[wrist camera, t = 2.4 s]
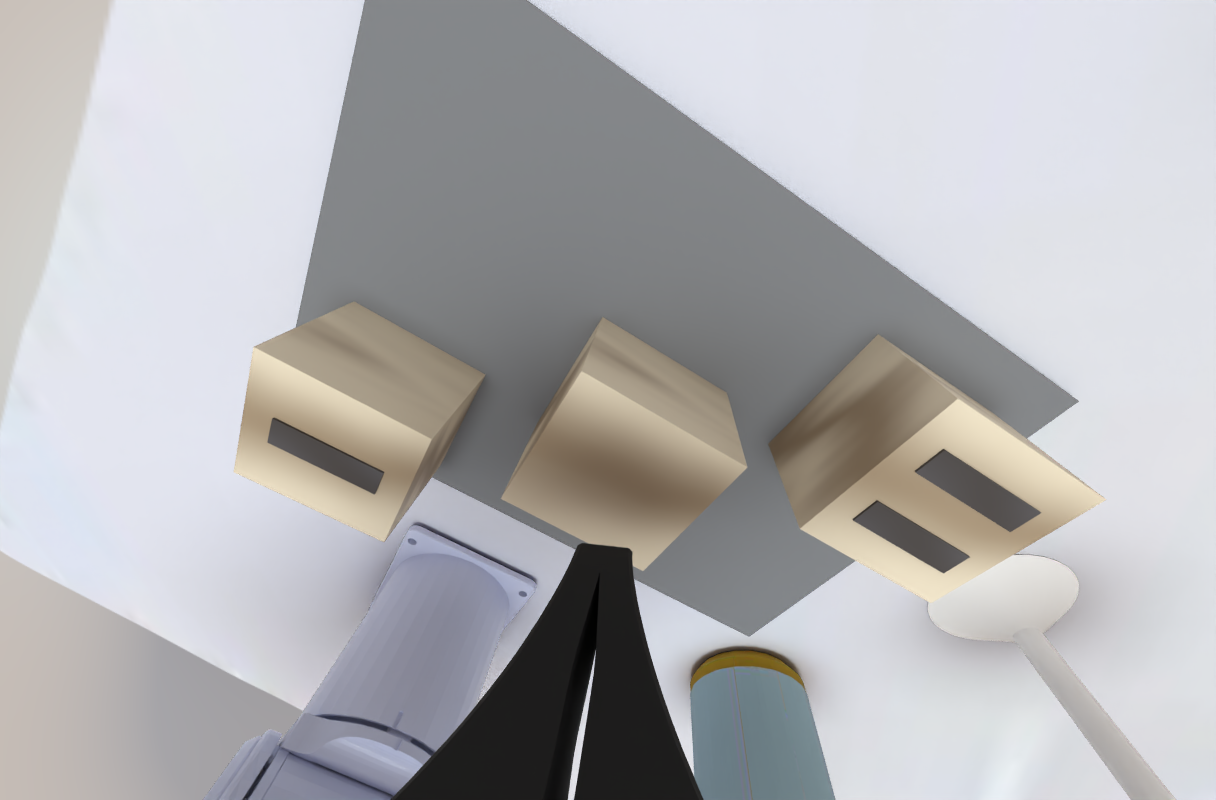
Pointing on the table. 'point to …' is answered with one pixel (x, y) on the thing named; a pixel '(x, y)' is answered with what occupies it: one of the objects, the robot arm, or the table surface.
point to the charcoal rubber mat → (611, 270)
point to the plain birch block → (628, 448)
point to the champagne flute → (1044, 651)
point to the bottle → (755, 731)
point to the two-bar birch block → (918, 475)
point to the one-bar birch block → (351, 416)
